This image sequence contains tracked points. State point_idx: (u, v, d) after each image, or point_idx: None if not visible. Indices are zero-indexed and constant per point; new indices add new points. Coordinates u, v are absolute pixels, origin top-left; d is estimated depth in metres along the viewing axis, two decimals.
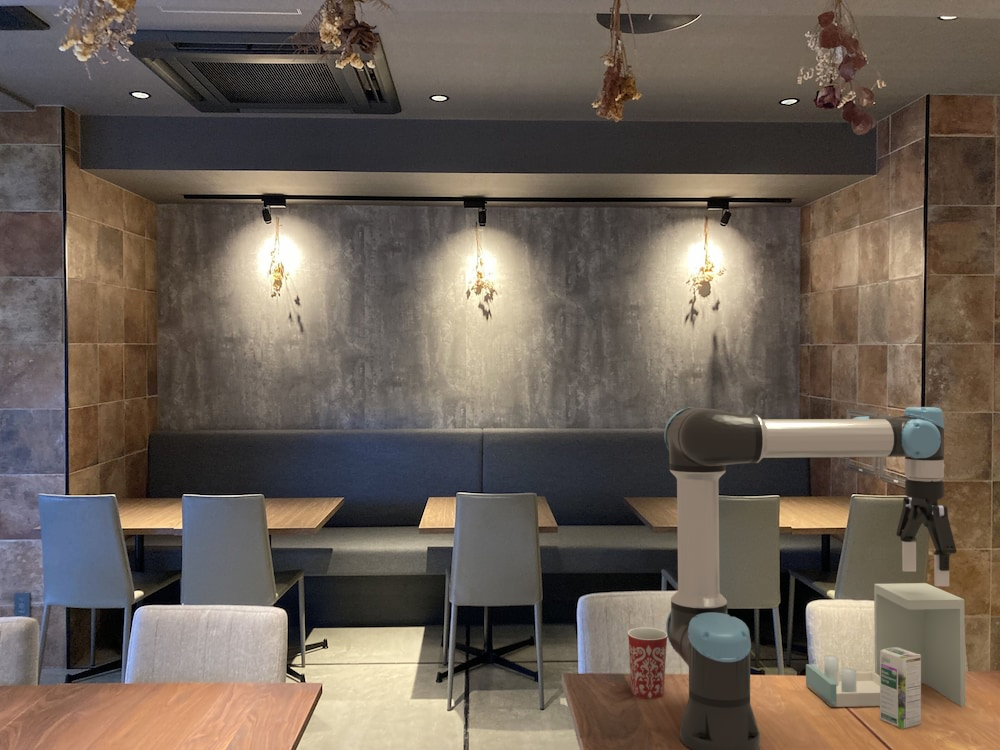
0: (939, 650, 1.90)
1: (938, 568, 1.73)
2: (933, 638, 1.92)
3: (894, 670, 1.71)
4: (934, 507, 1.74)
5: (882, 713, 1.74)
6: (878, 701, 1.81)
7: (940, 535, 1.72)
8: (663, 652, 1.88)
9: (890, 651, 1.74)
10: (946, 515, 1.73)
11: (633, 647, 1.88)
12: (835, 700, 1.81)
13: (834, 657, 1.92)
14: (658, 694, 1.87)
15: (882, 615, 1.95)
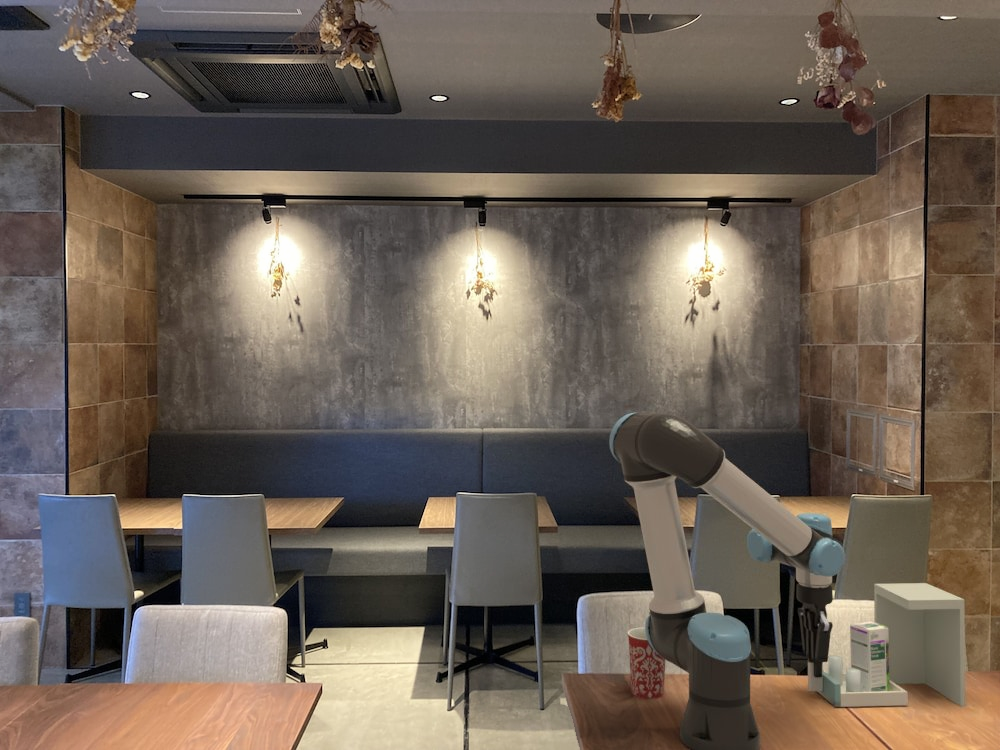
0: (939, 650, 1.90)
1: (812, 674, 1.87)
2: (933, 638, 1.92)
3: (882, 641, 1.86)
4: (821, 625, 1.81)
5: (872, 688, 1.85)
6: (882, 701, 1.81)
7: (818, 649, 1.83)
8: None
9: (871, 627, 1.86)
10: (829, 631, 1.82)
11: (633, 647, 1.88)
12: (839, 700, 1.81)
13: (838, 657, 1.92)
14: (658, 694, 1.87)
15: (882, 615, 1.95)
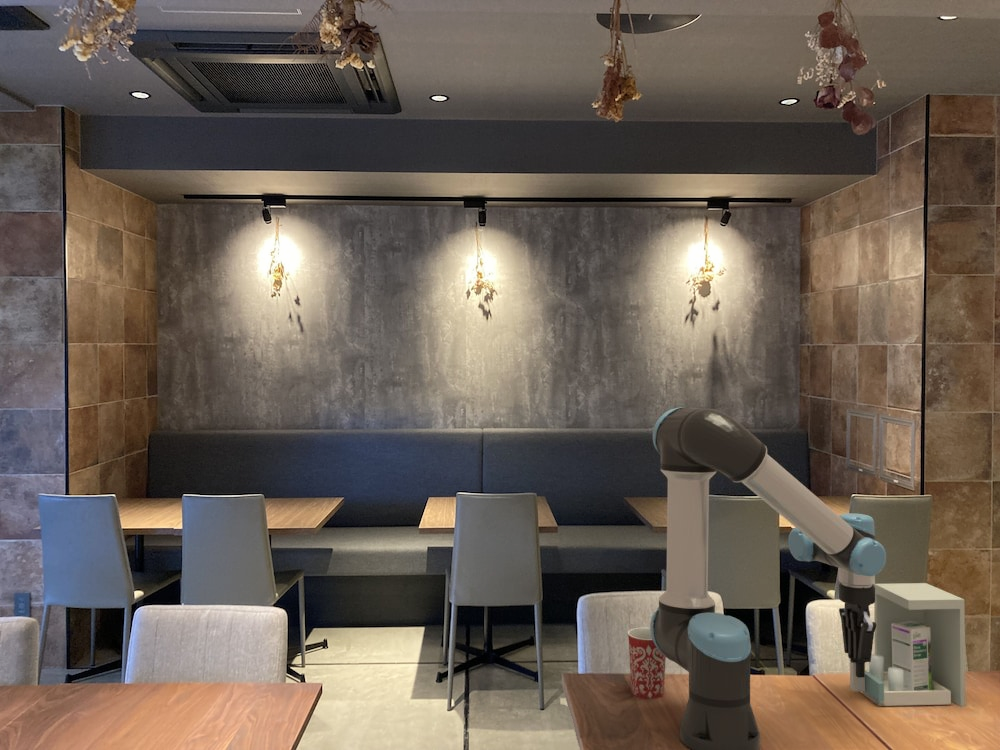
0: (939, 650, 1.90)
1: (855, 674, 1.87)
2: (933, 638, 1.92)
3: (924, 641, 1.86)
4: (864, 625, 1.82)
5: (915, 687, 1.85)
6: (925, 700, 1.82)
7: (861, 649, 1.83)
8: None
9: (913, 626, 1.87)
10: (873, 631, 1.83)
11: (633, 647, 1.88)
12: (883, 699, 1.81)
13: (879, 656, 1.92)
14: (658, 694, 1.87)
15: (882, 615, 1.95)
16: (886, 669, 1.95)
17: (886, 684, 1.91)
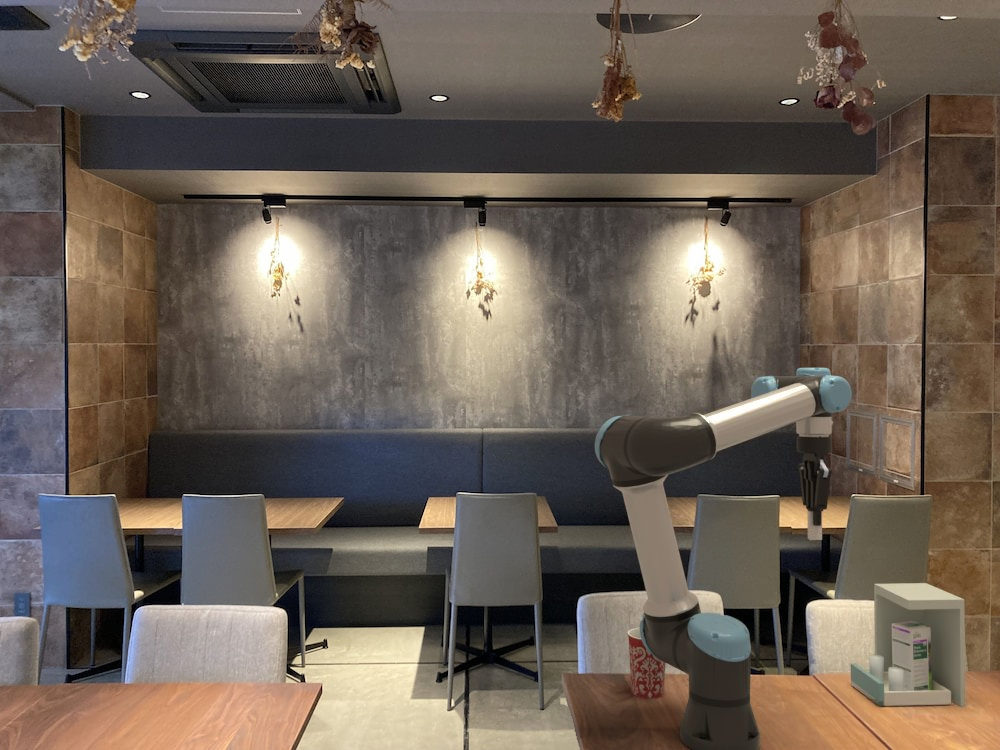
0: (939, 650, 1.90)
1: (812, 523, 1.90)
2: (933, 638, 1.92)
3: (924, 641, 1.86)
4: (820, 470, 1.85)
5: (915, 687, 1.85)
6: (925, 700, 1.82)
7: (817, 495, 1.87)
8: None
9: (913, 626, 1.87)
10: (829, 477, 1.86)
11: (633, 647, 1.88)
12: (883, 699, 1.81)
13: (879, 656, 1.92)
14: (658, 694, 1.87)
15: (882, 615, 1.95)
16: (886, 669, 1.95)
17: (886, 684, 1.91)
